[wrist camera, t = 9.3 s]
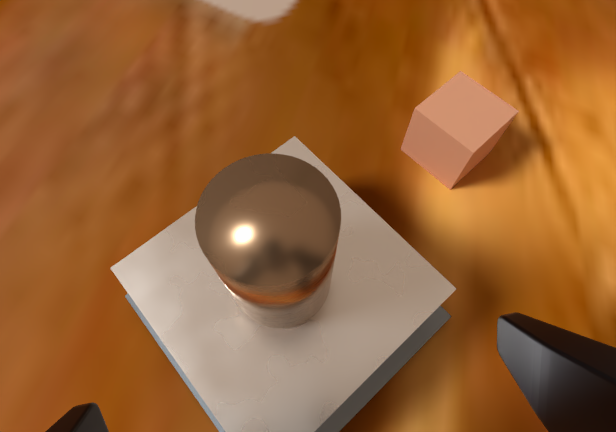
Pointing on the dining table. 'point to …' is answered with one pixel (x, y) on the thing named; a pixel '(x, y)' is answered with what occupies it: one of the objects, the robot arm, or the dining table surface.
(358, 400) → the mat
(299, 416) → the cover
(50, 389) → the dining table surface
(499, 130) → the visible block
